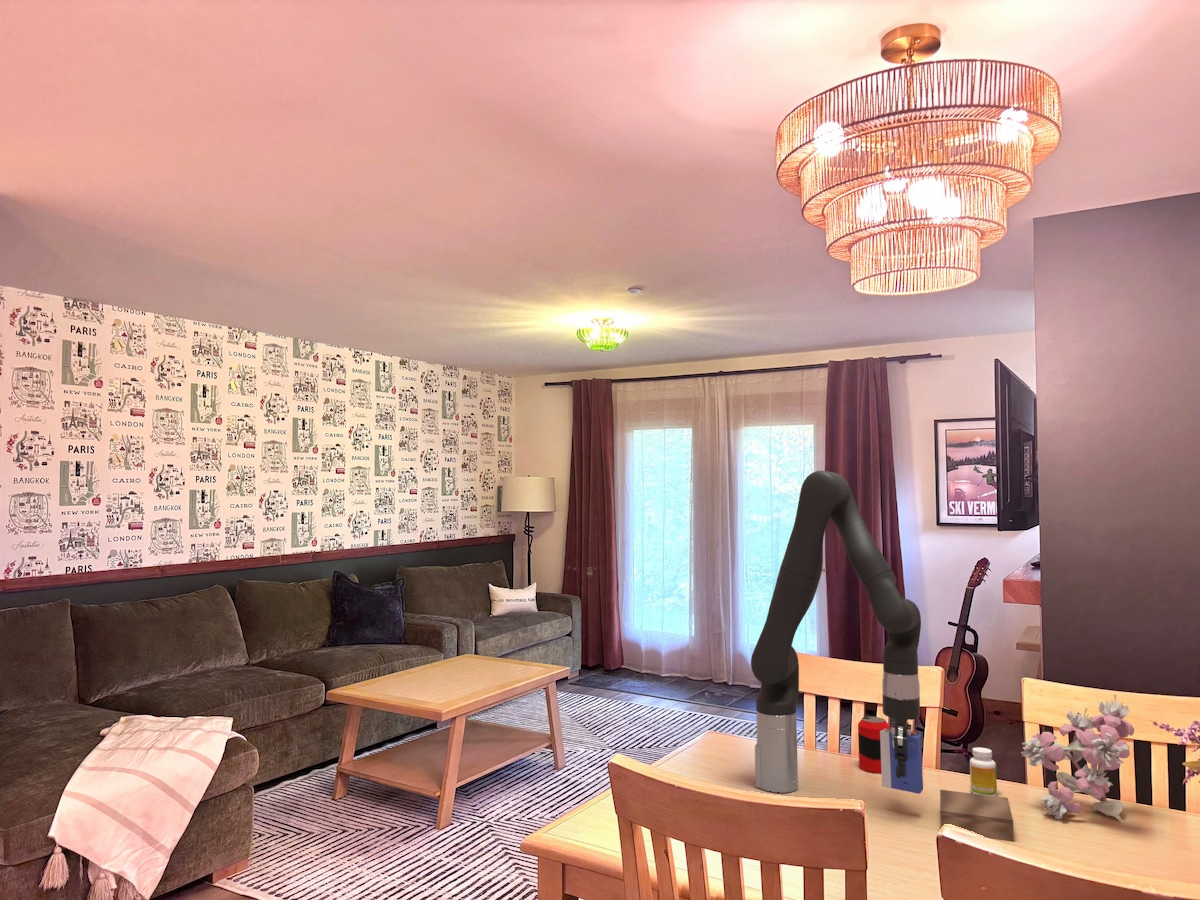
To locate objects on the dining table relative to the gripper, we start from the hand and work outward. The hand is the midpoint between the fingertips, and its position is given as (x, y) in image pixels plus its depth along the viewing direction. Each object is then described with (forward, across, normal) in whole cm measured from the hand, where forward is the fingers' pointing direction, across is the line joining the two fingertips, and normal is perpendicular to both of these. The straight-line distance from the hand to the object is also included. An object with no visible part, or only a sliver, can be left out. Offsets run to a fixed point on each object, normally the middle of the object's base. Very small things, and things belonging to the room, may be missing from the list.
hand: (902, 775), depth 169 cm
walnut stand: (+7, +1, +14) cm, 16 cm away
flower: (+7, -12, +34) cm, 37 cm away
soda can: (+8, -28, -8) cm, 30 cm away
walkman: (+3, 0, 0) cm, 3 cm away
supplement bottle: (+8, -19, +16) cm, 26 cm away
